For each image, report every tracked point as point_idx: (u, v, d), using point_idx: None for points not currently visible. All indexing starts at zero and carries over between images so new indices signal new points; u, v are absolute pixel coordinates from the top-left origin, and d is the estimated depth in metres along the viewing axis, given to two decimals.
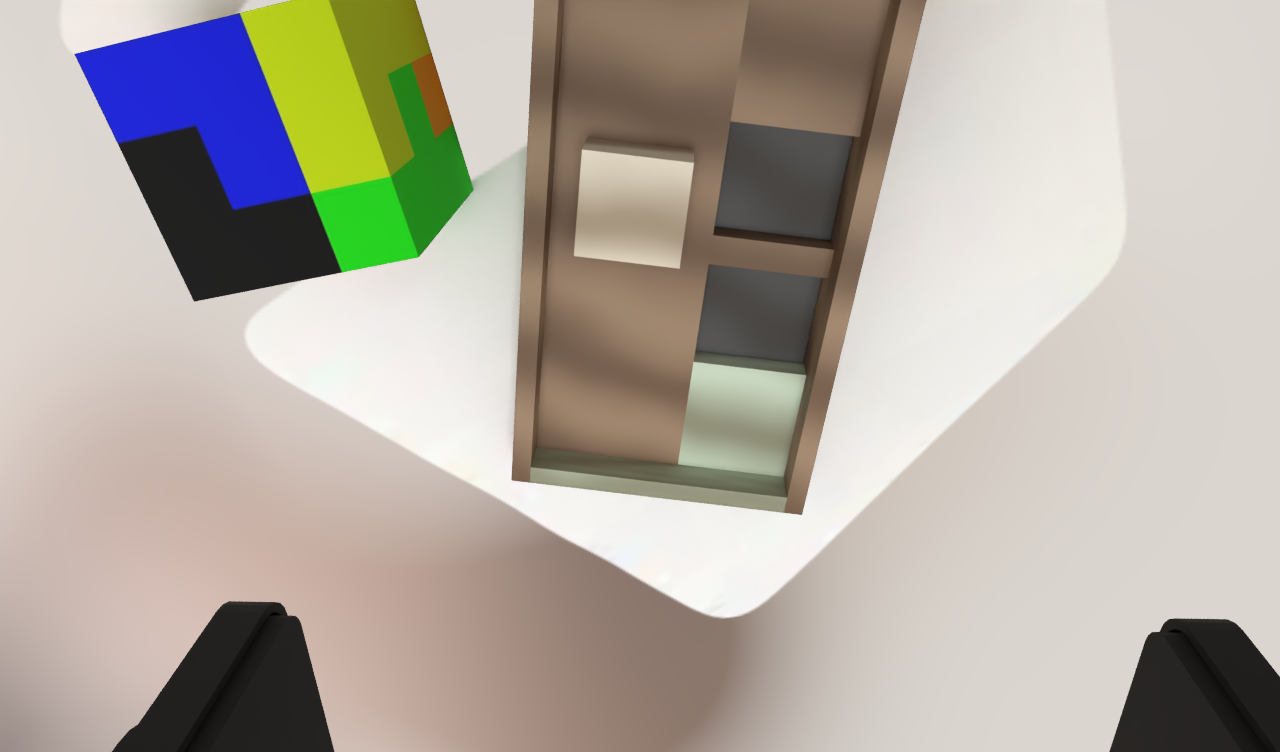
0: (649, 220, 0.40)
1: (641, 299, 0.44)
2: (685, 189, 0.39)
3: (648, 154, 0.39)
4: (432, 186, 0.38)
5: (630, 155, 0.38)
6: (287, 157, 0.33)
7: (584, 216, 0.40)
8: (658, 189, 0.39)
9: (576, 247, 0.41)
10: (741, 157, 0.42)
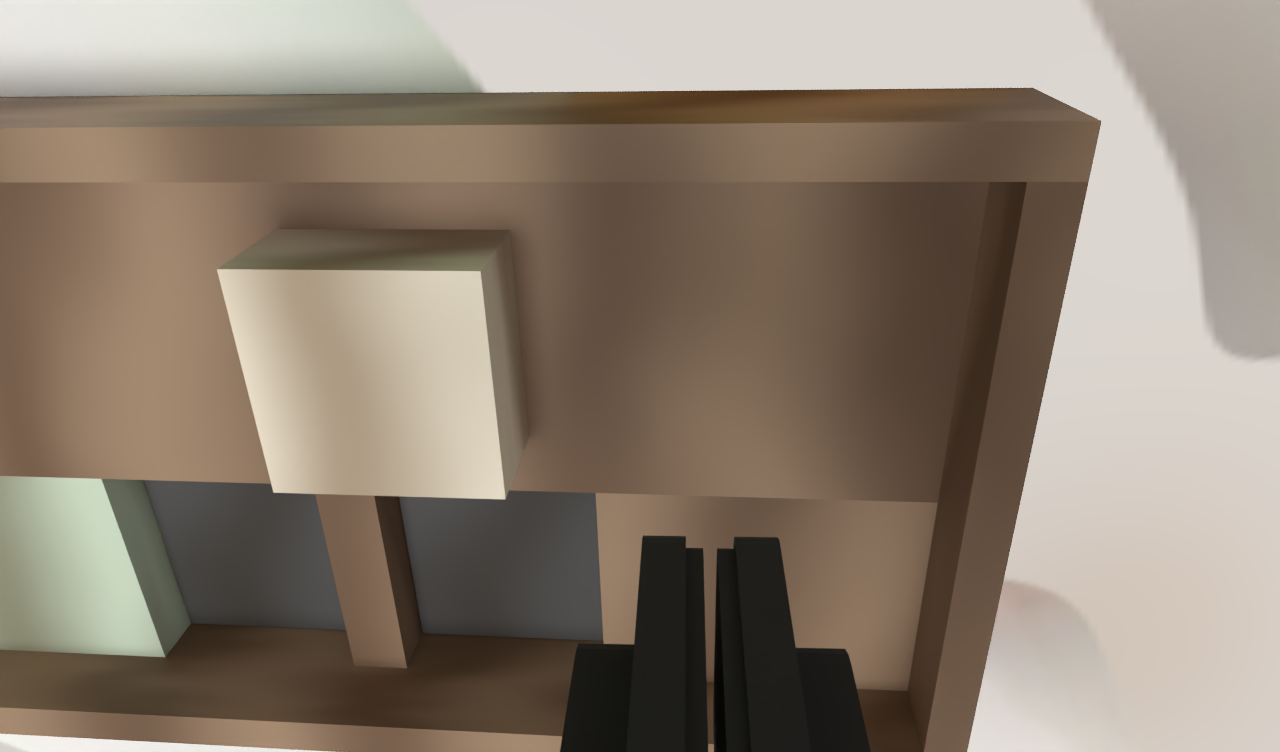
0: (358, 427, 0.17)
1: (190, 369, 0.20)
2: (445, 488, 0.18)
3: (502, 398, 0.18)
4: None
5: (491, 377, 0.17)
6: None
7: (321, 287, 0.16)
8: (431, 438, 0.17)
9: (240, 273, 0.16)
10: (531, 490, 0.22)
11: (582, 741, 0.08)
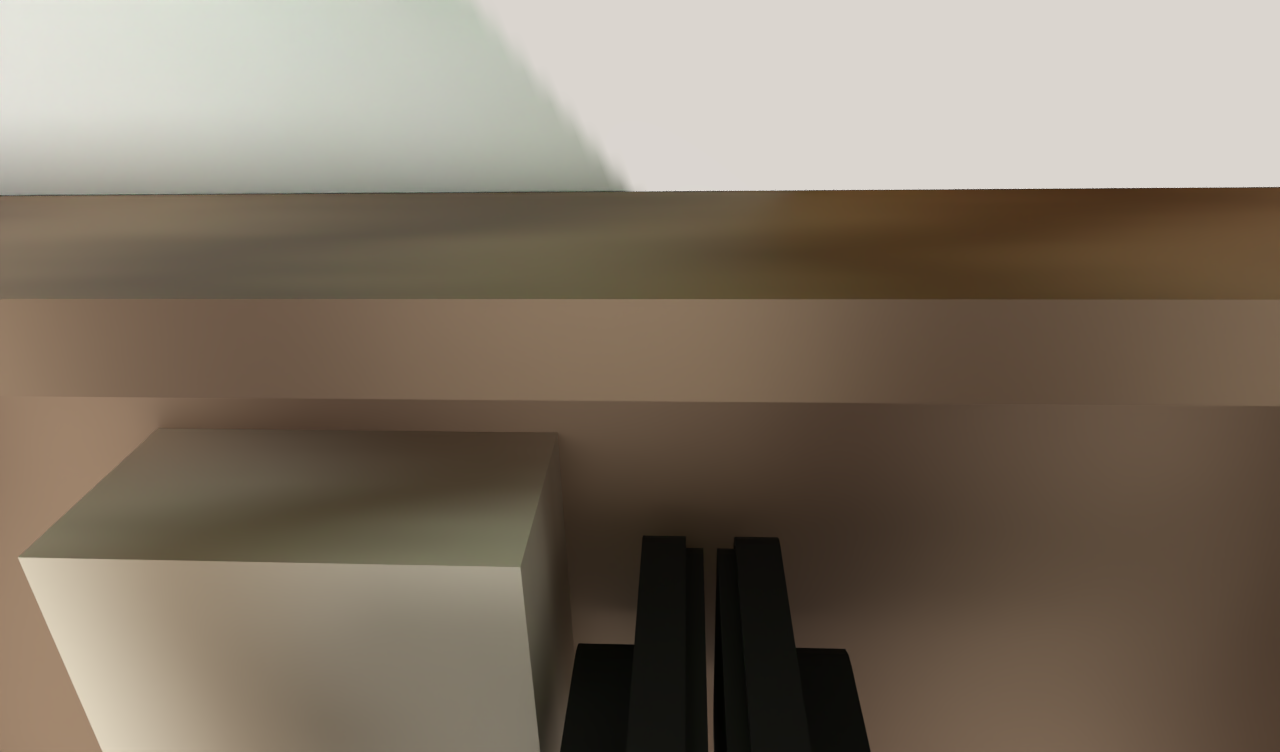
0: None
1: None
2: None
3: (550, 732, 0.10)
4: None
5: (536, 727, 0.09)
6: None
7: (219, 590, 0.09)
8: None
9: (63, 564, 0.09)
10: None
11: (582, 741, 0.08)
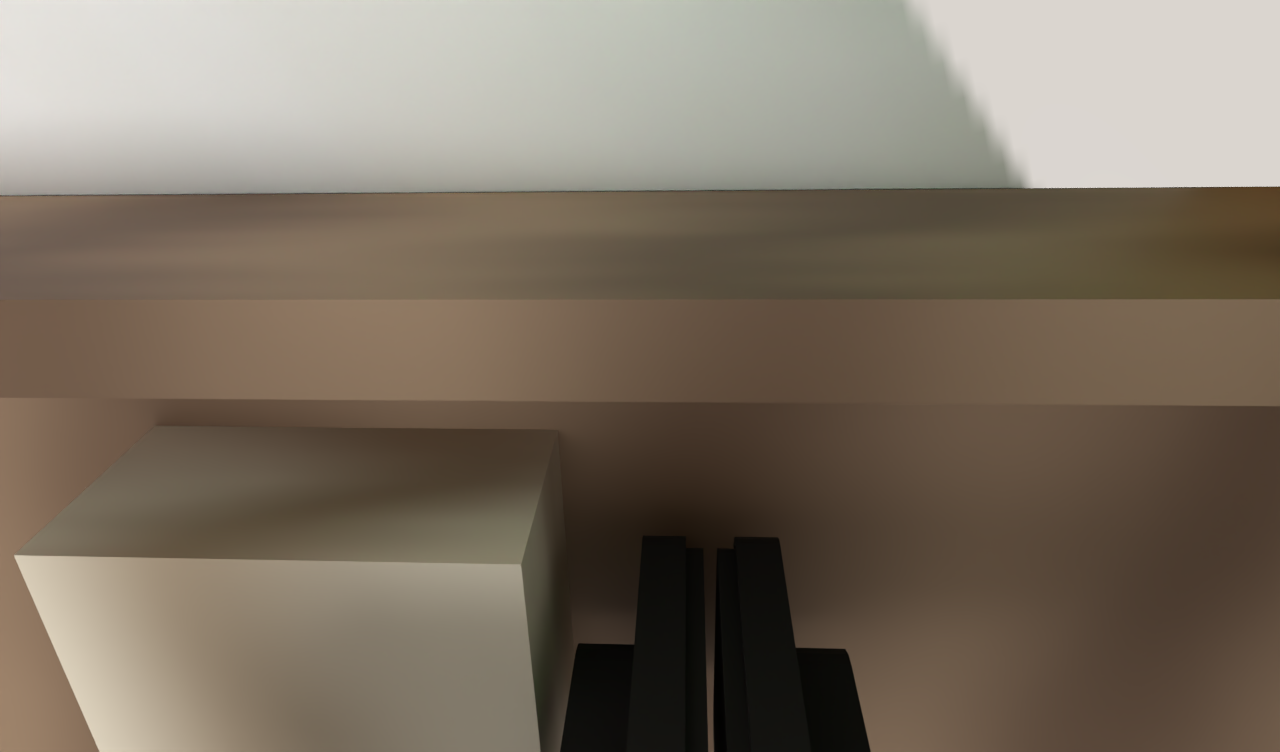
0: None
1: None
2: None
3: (550, 731, 0.10)
4: None
5: (537, 725, 0.09)
6: None
7: (217, 587, 0.09)
8: None
9: (59, 562, 0.09)
10: None
11: (582, 741, 0.08)
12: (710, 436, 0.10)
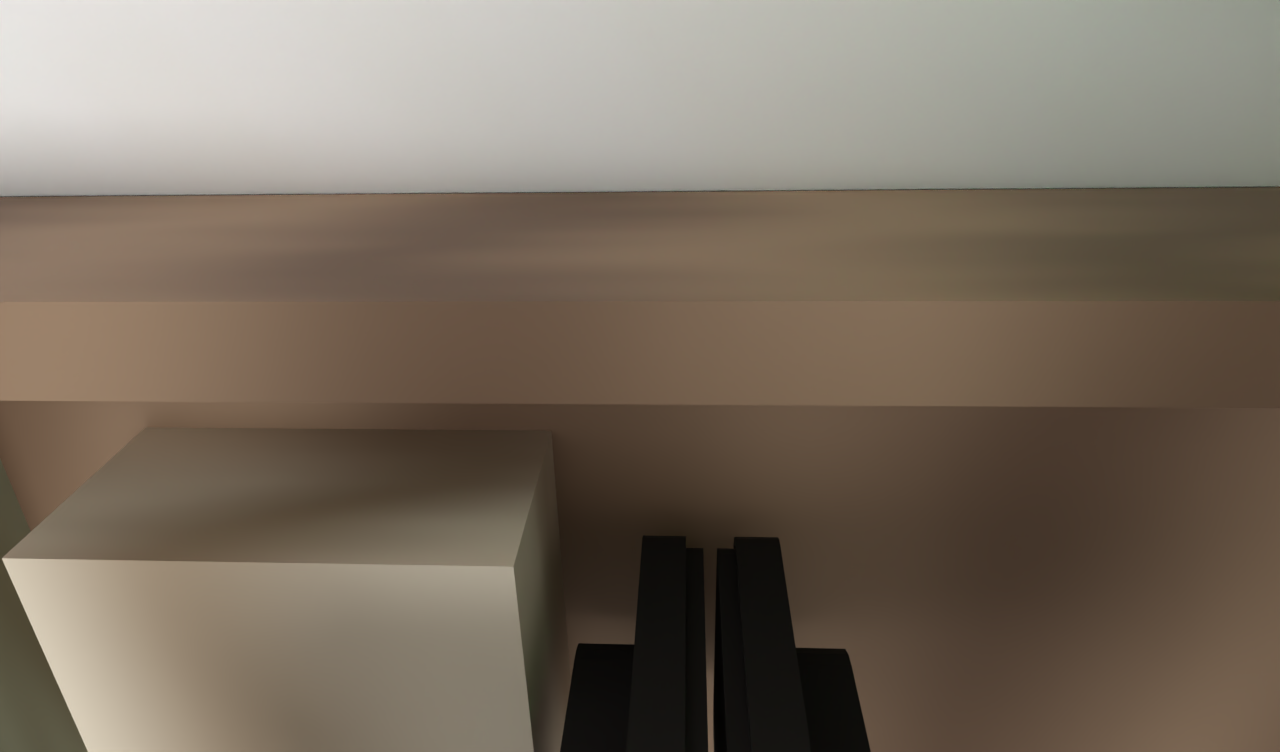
0: None
1: None
2: None
3: (544, 734, 0.10)
4: None
5: (530, 729, 0.09)
6: None
7: (206, 590, 0.08)
8: None
9: (47, 565, 0.08)
10: None
11: (582, 741, 0.08)
12: (1071, 441, 0.10)
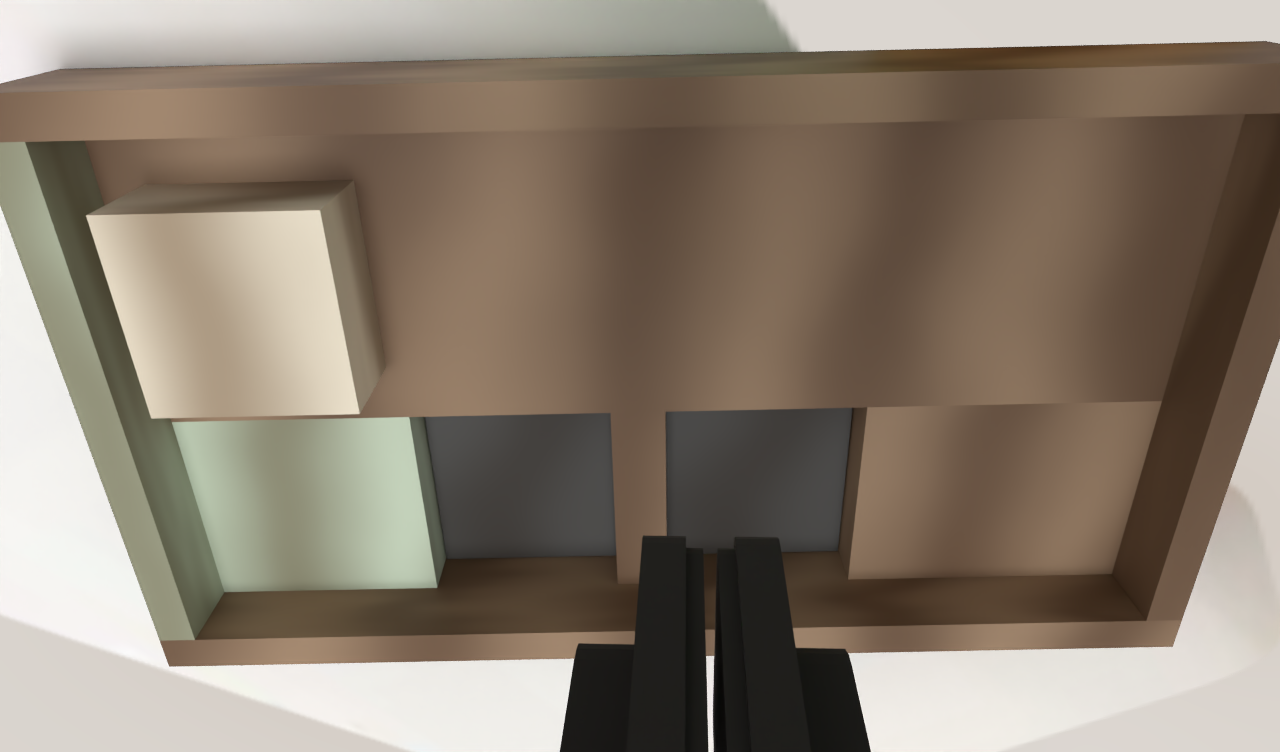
0: (223, 354, 0.20)
1: (515, 309, 0.22)
2: (305, 407, 0.21)
3: (351, 325, 0.20)
4: None
5: (337, 303, 0.19)
6: None
7: (181, 229, 0.19)
8: (290, 361, 0.20)
9: (107, 219, 0.19)
10: (789, 413, 0.25)
11: (582, 741, 0.08)
12: (646, 177, 0.21)
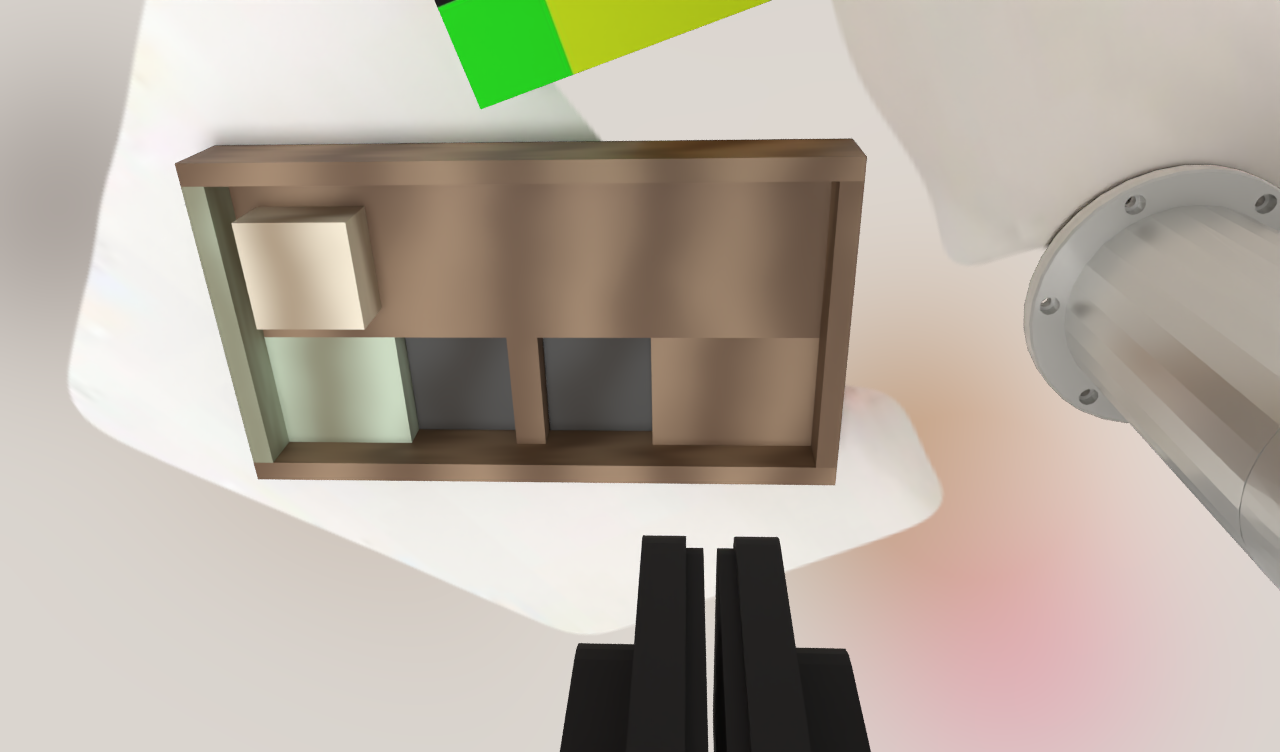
0: (295, 295, 0.39)
1: (451, 276, 0.41)
2: (336, 324, 0.39)
3: (361, 282, 0.39)
4: None
5: (353, 270, 0.38)
6: None
7: (277, 231, 0.37)
8: (328, 300, 0.39)
9: (241, 225, 0.37)
10: (614, 343, 0.43)
11: (582, 741, 0.08)
12: (517, 207, 0.39)
